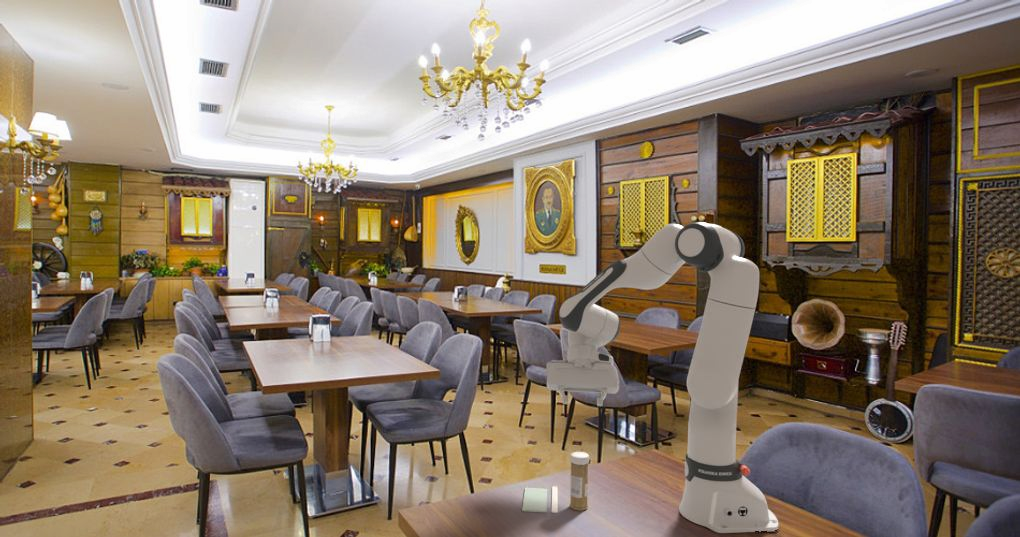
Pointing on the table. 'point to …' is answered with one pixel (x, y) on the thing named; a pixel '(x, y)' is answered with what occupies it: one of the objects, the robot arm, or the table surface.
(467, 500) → the table surface
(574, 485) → the sprinkles bottle
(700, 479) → the robot arm
